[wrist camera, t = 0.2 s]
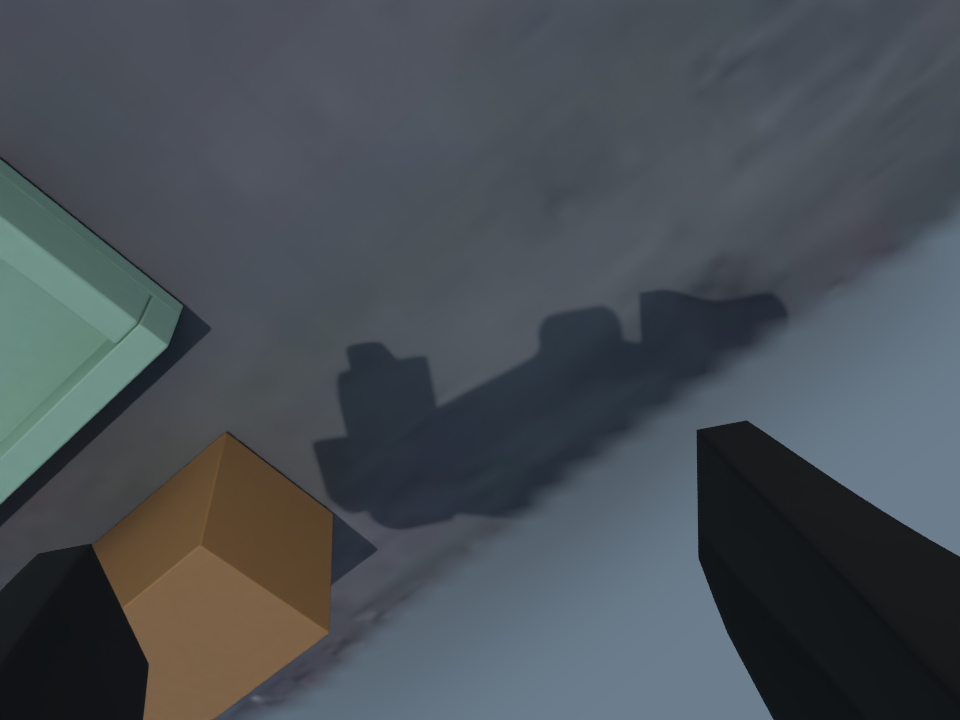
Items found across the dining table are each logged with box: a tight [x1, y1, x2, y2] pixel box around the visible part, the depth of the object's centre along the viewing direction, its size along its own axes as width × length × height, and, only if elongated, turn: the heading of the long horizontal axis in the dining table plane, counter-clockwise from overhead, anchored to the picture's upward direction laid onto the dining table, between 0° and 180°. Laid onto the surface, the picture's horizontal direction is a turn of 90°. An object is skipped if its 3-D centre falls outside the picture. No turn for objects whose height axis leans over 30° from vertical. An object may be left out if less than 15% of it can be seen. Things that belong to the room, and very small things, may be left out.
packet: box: [92, 432, 333, 720], centre depth 23 cm, size 4×8×4 cm, turn 130°
